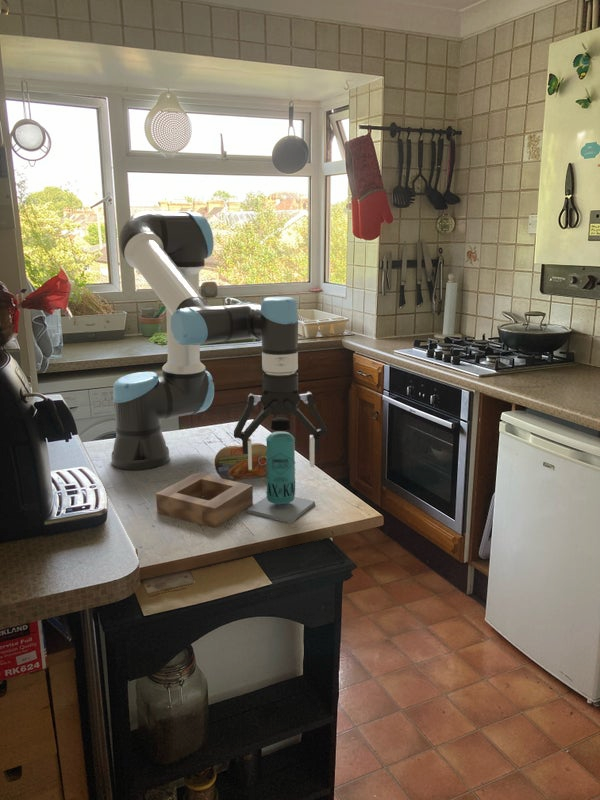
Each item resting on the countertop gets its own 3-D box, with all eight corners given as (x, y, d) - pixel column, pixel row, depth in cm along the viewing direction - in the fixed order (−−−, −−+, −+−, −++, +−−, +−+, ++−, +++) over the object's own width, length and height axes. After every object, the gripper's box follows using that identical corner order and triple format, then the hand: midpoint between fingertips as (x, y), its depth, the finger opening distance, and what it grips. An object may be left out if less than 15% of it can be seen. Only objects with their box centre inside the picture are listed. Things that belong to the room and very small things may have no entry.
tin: (215, 481, 157) (214, 449, 154) (214, 477, 159) (212, 445, 157) (275, 475, 160) (274, 444, 158) (272, 471, 163) (271, 440, 161)
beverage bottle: (263, 501, 143) (261, 416, 138) (291, 497, 145) (290, 413, 140) (270, 512, 137) (269, 424, 132) (299, 508, 139) (299, 421, 134)
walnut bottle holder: (157, 512, 140) (155, 493, 138) (196, 490, 151) (195, 472, 150) (216, 528, 132) (215, 508, 131) (252, 503, 144) (252, 485, 143)
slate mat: (247, 512, 139) (247, 509, 139) (273, 494, 149) (273, 491, 148) (290, 523, 134) (290, 520, 134) (314, 504, 143) (314, 501, 143)
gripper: (220, 377, 128) (223, 474, 134) (341, 374, 131) (340, 470, 136) (220, 369, 136) (224, 462, 141) (336, 366, 138) (334, 458, 144)
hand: (281, 466), depth 139 cm, fingers open, 13 cm apart
